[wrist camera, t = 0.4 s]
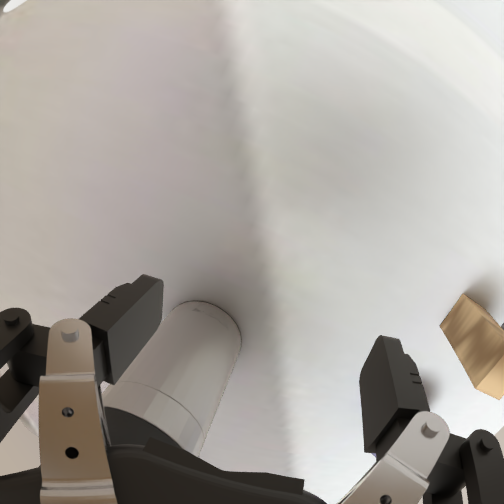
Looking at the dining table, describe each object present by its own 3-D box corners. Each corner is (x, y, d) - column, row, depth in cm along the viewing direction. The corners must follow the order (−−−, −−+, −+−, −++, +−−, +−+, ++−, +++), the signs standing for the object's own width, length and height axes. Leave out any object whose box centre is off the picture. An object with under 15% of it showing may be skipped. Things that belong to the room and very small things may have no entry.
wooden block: (463, 339, 30) (499, 400, 20) (439, 325, 30) (474, 388, 20) (485, 309, 28) (530, 363, 18) (462, 293, 28) (508, 348, 18)
